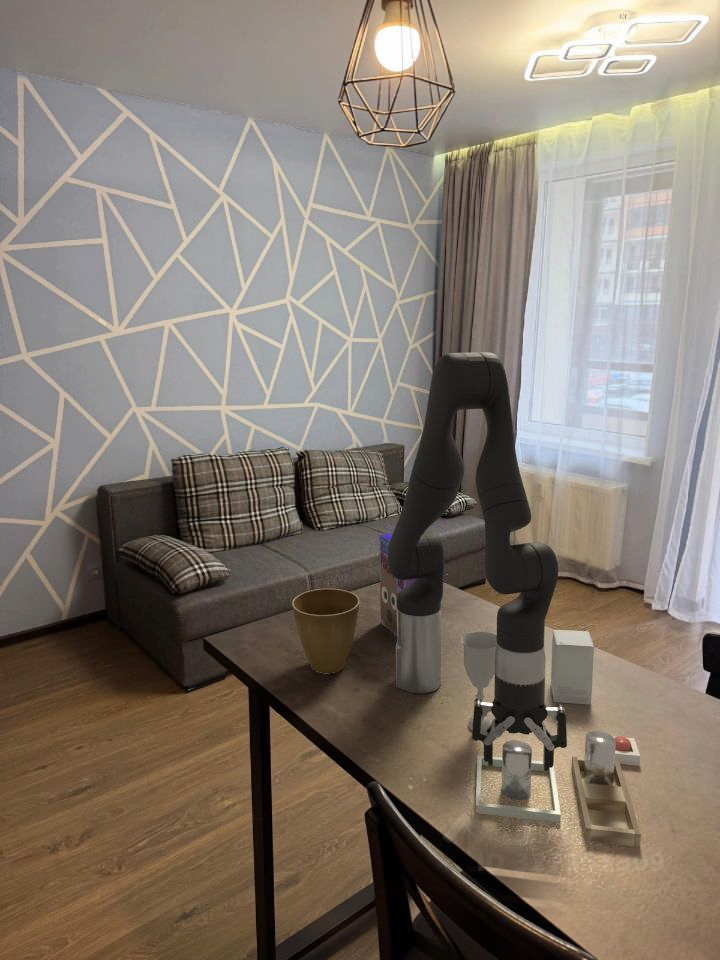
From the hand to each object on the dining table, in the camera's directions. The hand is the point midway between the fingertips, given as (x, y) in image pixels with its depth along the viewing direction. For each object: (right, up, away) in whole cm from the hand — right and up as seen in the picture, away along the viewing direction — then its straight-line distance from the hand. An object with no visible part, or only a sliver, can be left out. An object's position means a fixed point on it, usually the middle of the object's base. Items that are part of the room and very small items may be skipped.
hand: (518, 765), depth 103 cm
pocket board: (+13, -6, -2) cm, 14 cm away
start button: (+20, -2, +9) cm, 22 cm away
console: (+20, -3, +10) cm, 22 cm away
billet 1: (0, -5, +1) cm, 5 cm away
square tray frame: (0, -6, +2) cm, 6 cm away
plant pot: (-32, +2, +45) cm, 55 cm away
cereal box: (-14, +6, +60) cm, 62 cm away
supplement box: (+18, +1, +31) cm, 36 cm away
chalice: (-2, -2, +20) cm, 20 cm away
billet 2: (+13, -4, +2) cm, 14 cm away
